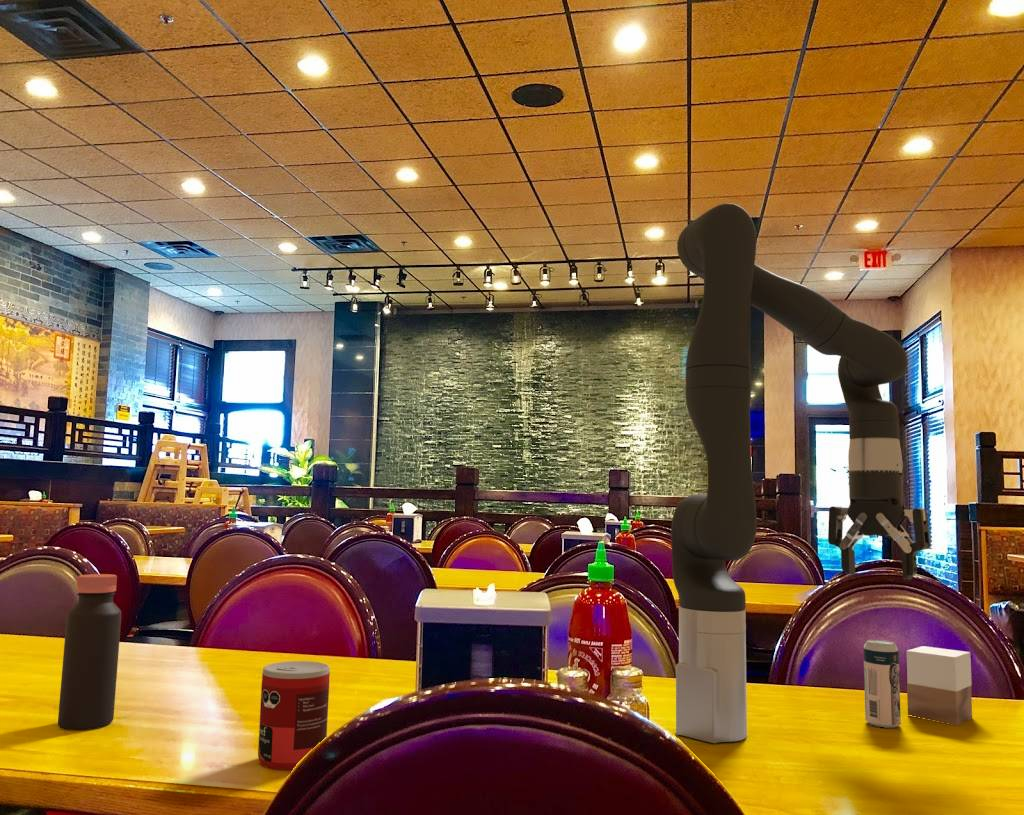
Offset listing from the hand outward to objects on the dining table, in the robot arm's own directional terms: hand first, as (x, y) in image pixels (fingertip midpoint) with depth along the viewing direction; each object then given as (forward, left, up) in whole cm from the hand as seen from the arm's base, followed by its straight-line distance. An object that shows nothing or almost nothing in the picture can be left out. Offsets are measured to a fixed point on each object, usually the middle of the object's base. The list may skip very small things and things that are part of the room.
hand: (878, 576), depth 124 cm
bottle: (-87, +73, -22) cm, 116 cm away
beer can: (0, 0, -22) cm, 22 cm away
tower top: (+12, -4, -17) cm, 21 cm away
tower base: (+12, -4, -22) cm, 25 cm away
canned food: (-74, +41, -22) cm, 87 cm away
